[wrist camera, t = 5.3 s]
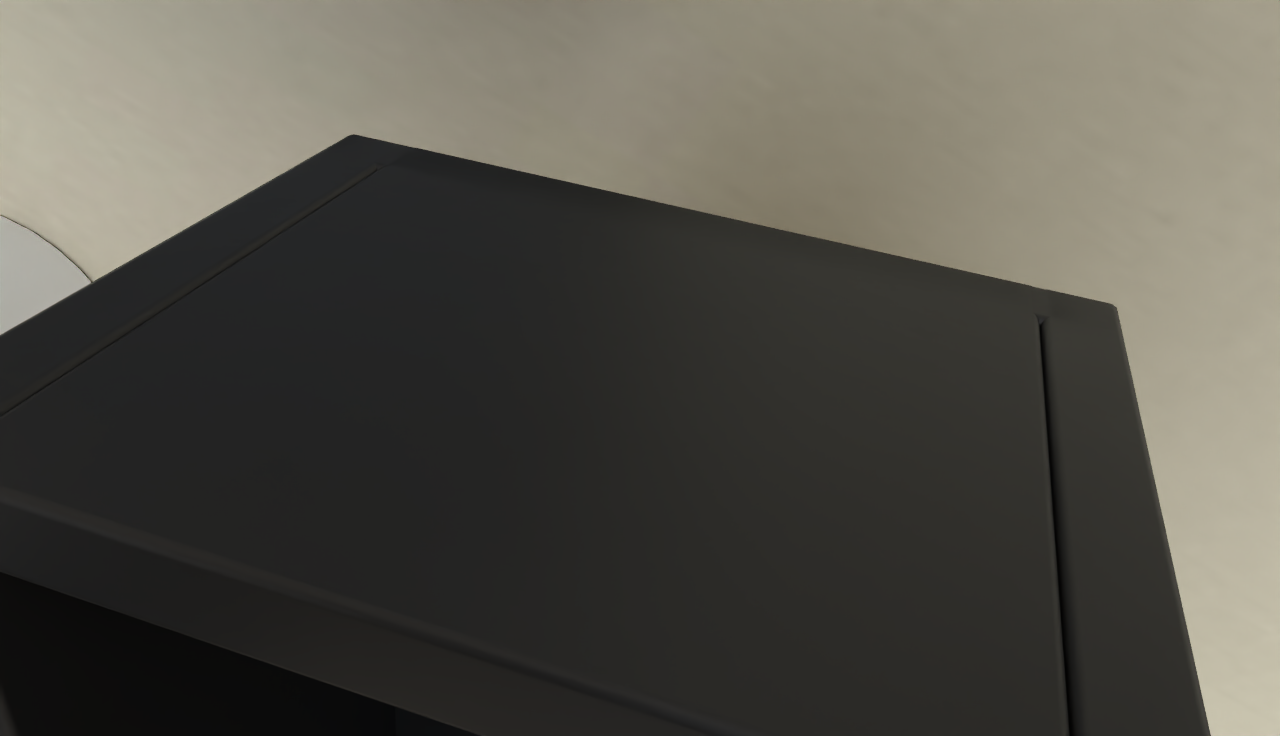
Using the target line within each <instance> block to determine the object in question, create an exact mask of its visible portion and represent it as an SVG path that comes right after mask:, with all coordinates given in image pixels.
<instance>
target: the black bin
mask: <svg viewBox="0 0 1280 736" xmlns="http://www.w3.org/2000/svg"><path fill="white" fill-rule="evenodd" d="M0 736H1211V735H1210V731H1209V726H1208V721H1207V717H1206V712H1205V708H1204V703H1203V699H1202V694H1201V690H1200V685H1199V680H1198V676H1197V671H1196V667H1195V662H1194V658H1193V653H1192V649H1191V644H1190V639H1189V635H1188V630H1187V626H1186V621H1185V617H1184V612H1183V608H1182V603H1181V598H1180V594H1179V589H1178V585H1177V580H1176V576H1175V571H1174V567H1173V562H1172V557H1171V553H1170V548H1169V544H1168V539H1167V535H1166V530H1165V526H1164V521H1163V516H1162V512H1161V507H1160V503H1159V498H1158V494H1157V489H1156V485H1155V480H1154V475H1153V471H1152V466H1151V462H1150V457H1149V453H1148V448H1147V444H1146V439H1145V434H1144V430H1143V425H1142V421H1141V416H1140V412H1139V407H1138V403H1137V398H1136V393H1135V389H1134V384H1133V380H1132V375H1131V371H1130V366H1129V362H1128V357H1127V352H1126V348H1125V343H1124V339H1123V334H1122V330H1121V325H1120V321H1119V316H1118V311H1117V308H1116V307H1115V306H1114V305H1112V304H1109V303H1105V302H1100V301H1096V300H1092V299H1087V298H1083V297H1078V296H1074V295H1069V294H1065V293H1060V292H1056V291H1051V290H1045V289H1040V288H1036V287H1032V286H1029V285H1025V284H1020V283H1016V282H1011V281H1007V280H1002V279H998V278H993V277H989V276H985V275H980V274H976V273H971V272H967V271H962V270H958V269H953V268H949V267H944V266H940V265H936V264H931V263H927V262H922V261H918V260H913V259H909V258H904V257H900V256H895V255H891V254H887V253H882V252H878V251H873V250H869V249H864V248H860V247H855V246H851V245H846V244H842V243H837V242H833V241H829V240H824V239H820V238H815V237H811V236H806V235H802V234H797V233H793V232H788V231H784V230H780V229H775V228H771V227H766V226H762V225H757V224H753V223H748V222H744V221H739V220H735V219H731V218H726V217H722V216H717V215H713V214H708V213H704V212H699V211H695V210H690V209H686V208H682V207H677V206H673V205H668V204H664V203H659V202H655V201H650V200H646V199H641V198H637V197H633V196H628V195H624V194H619V193H615V192H610V191H606V190H601V189H597V188H592V187H588V186H584V185H579V184H575V183H570V182H566V181H561V180H557V179H552V178H548V177H543V176H539V175H535V174H530V173H526V172H521V171H517V170H512V169H508V168H503V167H499V166H494V165H490V164H486V163H481V162H477V161H472V160H468V159H463V158H459V157H454V156H450V155H445V154H441V153H437V152H432V151H428V150H423V149H419V148H412V147H408V146H404V145H399V144H395V143H390V142H386V141H381V140H377V139H372V138H368V137H363V136H359V135H350V136H347V137H346V138H344V139H342V140H340V141H339V142H337V143H335V144H333V145H332V146H330V147H328V148H326V149H325V150H323V151H321V152H319V153H318V154H316V155H314V156H312V157H311V158H309V159H307V160H305V161H304V162H302V163H300V164H298V165H297V166H295V167H293V168H291V169H290V170H288V171H286V172H284V173H283V174H281V175H279V176H277V177H276V178H274V179H272V180H270V181H269V182H267V183H265V184H263V185H262V186H260V187H258V188H256V189H255V190H253V191H251V192H249V193H248V194H246V195H244V196H242V197H241V198H239V199H237V200H235V201H234V202H232V203H230V204H228V205H227V206H225V207H223V208H221V209H220V210H218V211H216V212H214V213H213V214H211V215H209V216H207V217H206V218H204V219H202V220H200V221H199V222H197V223H195V224H193V225H192V226H190V227H188V228H186V229H185V230H183V231H181V232H179V233H178V234H176V235H174V236H172V237H171V238H169V239H167V240H165V241H164V242H162V243H160V244H158V245H157V246H155V247H153V248H151V249H150V250H148V251H146V252H144V253H143V254H141V255H139V256H137V257H136V258H134V259H132V260H130V261H129V262H127V263H125V264H123V265H122V266H120V267H118V268H116V269H115V270H113V271H111V272H109V273H108V274H106V275H104V276H102V277H101V278H99V279H97V280H95V281H94V282H92V283H90V284H88V285H87V286H85V287H83V288H81V289H80V290H78V291H76V292H74V293H73V294H71V295H69V296H67V297H66V298H64V299H62V300H60V301H59V302H57V303H55V304H53V305H52V306H50V307H48V308H46V309H45V310H43V311H41V312H39V313H38V314H36V315H34V316H32V317H31V318H29V319H27V320H25V321H24V322H22V323H20V324H18V325H17V326H15V327H13V328H11V329H10V330H8V331H6V332H4V333H3V334H1V335H0Z"/></svg>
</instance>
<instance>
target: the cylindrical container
mask: <svg viewBox="0 0 1280 736" xmlns="http://www.w3.org/2000/svg"><path fill="white" fill-rule="evenodd" d="M90 283H91V281H90V280H89V279H88V278H87V277H86V276H85V275H84V274H83V272H82V271H81V270H80V269H79V268H78V267H77V266H76V265H74V264H73V263H72V262H71V261H70V260H69V259H68V258H67V257H66V256H64V255H63V254H62V253H61V252H60V251H59V250H58V249H57V248H55V247H54V246H52V245H51V244H49V243H48V242H47V241H45V240H44V239H42V238H41V237H39V236H38V235H37V234H35V233H34V232H32V231H31V230H29V229H27V228H25V227H23V226H21V225H19V224H17V223H15V222H13V221H11V220H9V219H7V218H5V217H2V216H0V335H1V334H3V333H4V332H6V331H8V330H10V329H11V328H13V327H15V326H17V325H18V324H20V323H22V322H24V321H25V320H27V319H29V318H31V317H32V316H34V315H36V314H38V313H39V312H41V311H43V310H45V309H46V308H48V307H50V306H52V305H53V304H55V303H57V302H59V301H60V300H62V299H64V298H66V297H67V296H69V295H71V294H73V293H74V292H76V291H78V290H80V289H81V288H83V287H85V286H87V285H88V284H90Z"/></svg>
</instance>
